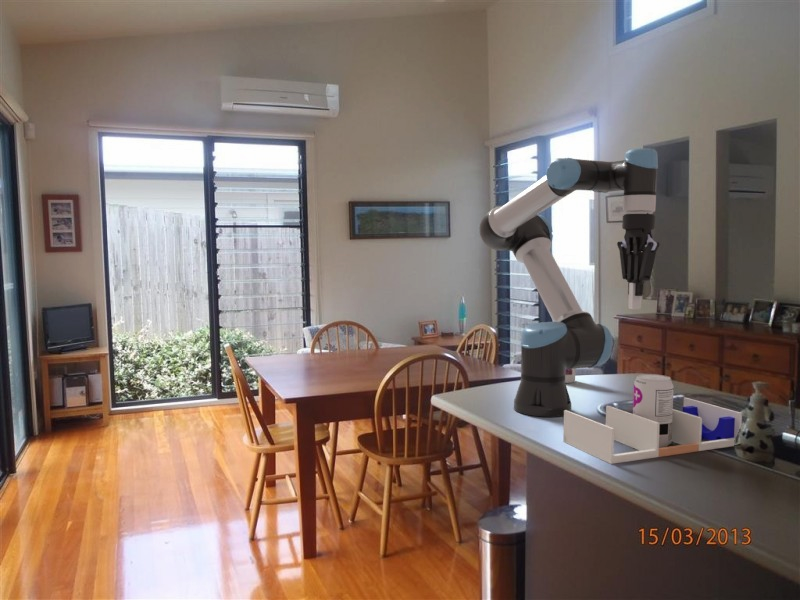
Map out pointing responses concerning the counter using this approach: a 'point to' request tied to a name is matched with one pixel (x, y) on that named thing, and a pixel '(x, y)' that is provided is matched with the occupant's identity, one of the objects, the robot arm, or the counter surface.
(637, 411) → the supplement can
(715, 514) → the counter surface
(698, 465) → the counter surface
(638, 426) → the can rack
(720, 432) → the blue notched cradle block
